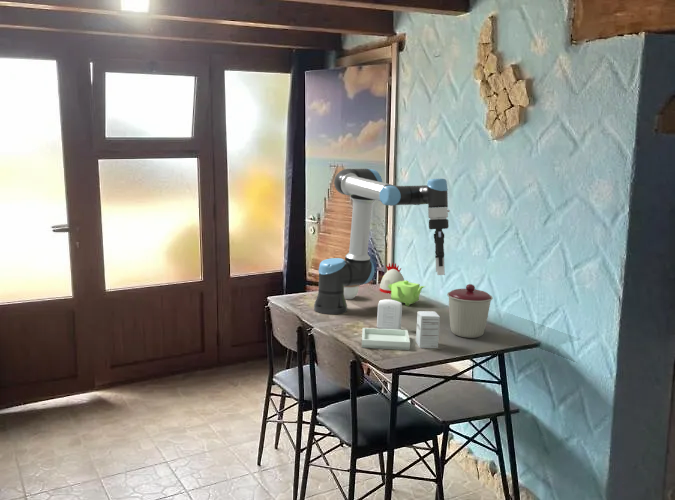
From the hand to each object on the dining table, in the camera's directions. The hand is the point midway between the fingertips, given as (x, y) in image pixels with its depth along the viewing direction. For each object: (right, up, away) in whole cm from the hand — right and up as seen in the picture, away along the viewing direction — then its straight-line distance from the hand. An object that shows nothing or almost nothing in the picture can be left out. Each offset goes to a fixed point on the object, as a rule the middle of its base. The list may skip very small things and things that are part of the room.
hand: (440, 273), depth 245 cm
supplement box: (-6, -28, -3) cm, 29 cm away
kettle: (-7, -17, +61) cm, 64 cm away
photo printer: (-19, -24, +18) cm, 35 cm away
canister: (+13, -26, +13) cm, 32 cm away
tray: (-22, -27, -1) cm, 34 cm away
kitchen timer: (-11, -13, +87) cm, 88 cm away
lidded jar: (-35, -15, +68) cm, 78 cm away
